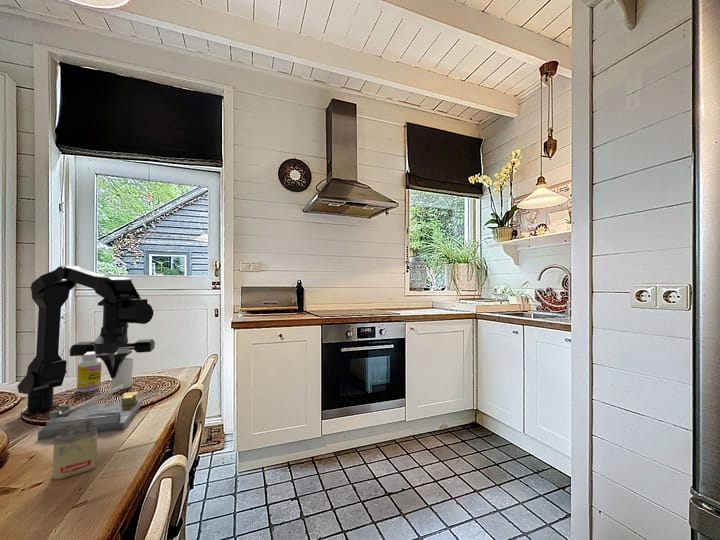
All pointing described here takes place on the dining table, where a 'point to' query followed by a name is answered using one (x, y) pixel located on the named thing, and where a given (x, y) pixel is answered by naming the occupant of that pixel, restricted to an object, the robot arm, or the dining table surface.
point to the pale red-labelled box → (75, 450)
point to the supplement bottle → (89, 373)
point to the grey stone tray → (102, 416)
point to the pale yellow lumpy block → (130, 398)
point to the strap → (91, 400)
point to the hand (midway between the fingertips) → (113, 378)
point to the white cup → (124, 374)
